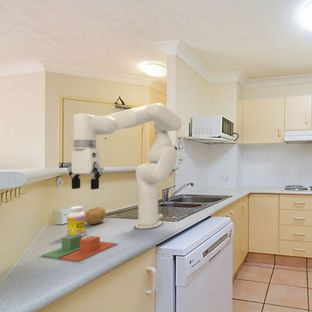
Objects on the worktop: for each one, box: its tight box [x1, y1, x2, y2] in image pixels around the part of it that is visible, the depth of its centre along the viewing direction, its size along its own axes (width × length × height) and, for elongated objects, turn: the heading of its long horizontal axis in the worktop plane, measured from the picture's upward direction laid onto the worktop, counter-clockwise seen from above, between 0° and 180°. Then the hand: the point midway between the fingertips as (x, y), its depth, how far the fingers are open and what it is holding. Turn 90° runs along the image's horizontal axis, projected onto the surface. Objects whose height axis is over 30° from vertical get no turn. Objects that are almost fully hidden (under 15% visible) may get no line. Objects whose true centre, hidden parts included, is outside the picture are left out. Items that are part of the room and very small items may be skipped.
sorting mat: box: [41, 241, 117, 263], centre depth 87 cm, size 16×17×1 cm
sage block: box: [61, 234, 82, 251], centre depth 88 cm, size 4×4×4 cm
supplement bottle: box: [66, 205, 86, 237], centre depth 103 cm, size 7×7×13 cm
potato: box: [84, 206, 107, 225], centre depth 123 cm, size 10×14×8 cm
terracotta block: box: [80, 235, 101, 253], centre depth 85 cm, size 4×4×4 cm
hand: (85, 188), depth 92 cm, fingers open, 9 cm apart
